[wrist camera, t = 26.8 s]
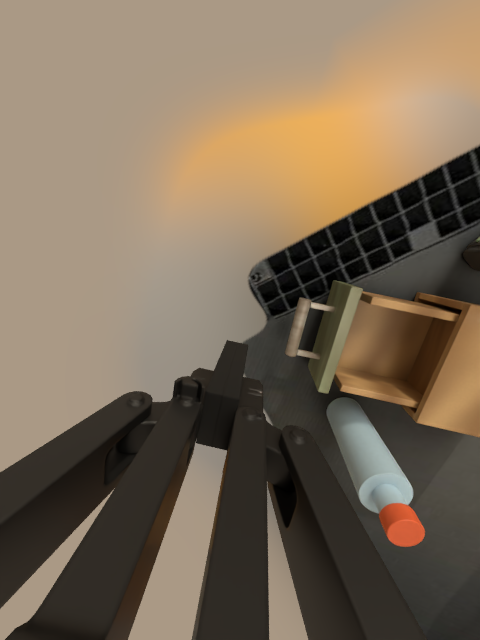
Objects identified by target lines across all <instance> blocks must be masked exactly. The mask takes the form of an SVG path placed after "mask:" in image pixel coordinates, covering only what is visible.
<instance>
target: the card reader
mask: <svg viewBox="0 0 480 640" xmlns="http://www.w3.org/2000/svg"><path fill="white" fill-rule="evenodd" d="M463 257H464V259H465V260H466V261H467V262H468V264H469V265H470V266H471V267H472V268H473V269H475V270H478V271H480V237H478V238H477V239H476V240H474V241H473V242H472V243H471V244H469V245H468V246H467V250H465V251H464V252H463Z"/></svg>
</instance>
